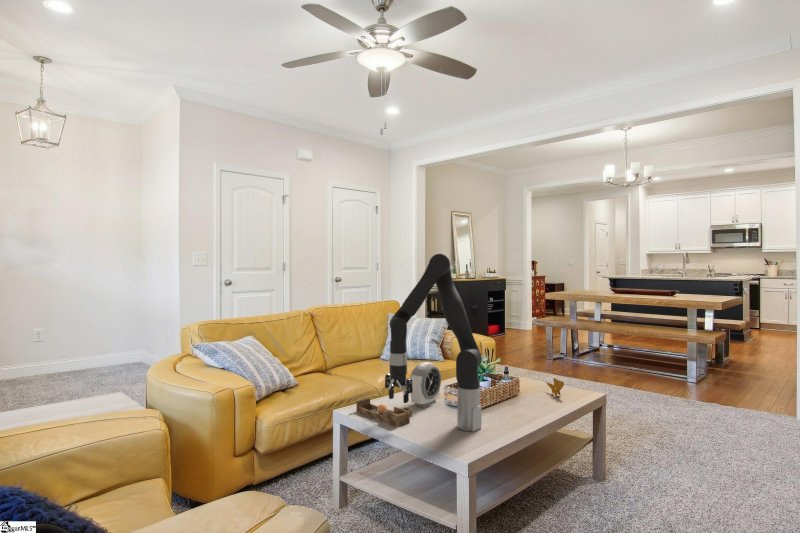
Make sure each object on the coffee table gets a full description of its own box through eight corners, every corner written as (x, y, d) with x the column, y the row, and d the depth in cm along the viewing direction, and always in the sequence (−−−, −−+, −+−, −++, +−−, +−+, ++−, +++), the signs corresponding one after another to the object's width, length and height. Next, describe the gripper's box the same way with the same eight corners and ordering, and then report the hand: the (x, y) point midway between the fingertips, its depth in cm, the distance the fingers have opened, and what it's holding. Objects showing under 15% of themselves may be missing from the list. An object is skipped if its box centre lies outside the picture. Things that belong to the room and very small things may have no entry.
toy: (564, 394, 225) (559, 374, 230) (547, 399, 239) (543, 380, 243) (568, 394, 226) (563, 374, 230) (552, 399, 240) (547, 380, 244)
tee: (412, 415, 202) (412, 409, 202) (405, 418, 199) (405, 411, 199) (405, 413, 204) (405, 407, 204) (399, 415, 202) (399, 409, 202)
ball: (382, 411, 202) (388, 414, 199) (374, 413, 199) (381, 416, 196) (382, 402, 202) (389, 404, 199) (375, 404, 199) (381, 406, 196)
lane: (409, 423, 193) (409, 411, 192) (397, 427, 187) (397, 415, 187) (368, 408, 212) (368, 397, 212) (356, 411, 206) (356, 401, 206)
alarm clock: (422, 410, 209) (422, 367, 209) (407, 406, 214) (408, 364, 214) (442, 401, 223) (442, 360, 223) (428, 397, 228) (428, 358, 228)
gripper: (416, 364, 189) (416, 402, 189) (392, 359, 199) (392, 395, 199) (404, 367, 184) (404, 406, 184) (380, 362, 194) (380, 399, 194)
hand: (398, 400), depth 192 cm, fingers open, 8 cm apart
